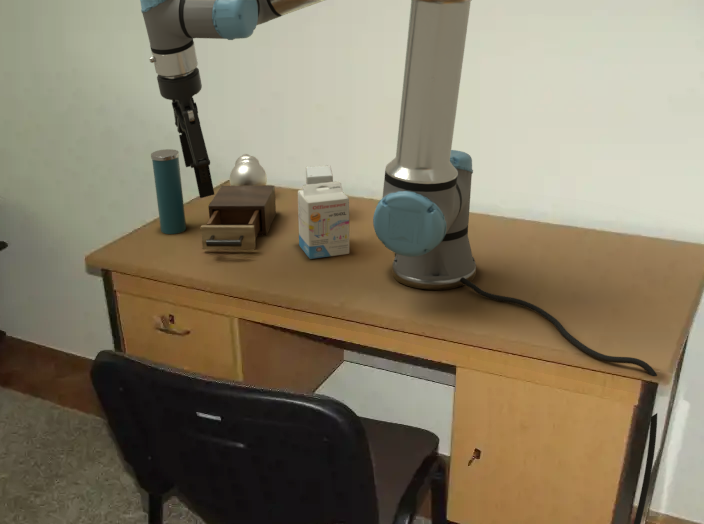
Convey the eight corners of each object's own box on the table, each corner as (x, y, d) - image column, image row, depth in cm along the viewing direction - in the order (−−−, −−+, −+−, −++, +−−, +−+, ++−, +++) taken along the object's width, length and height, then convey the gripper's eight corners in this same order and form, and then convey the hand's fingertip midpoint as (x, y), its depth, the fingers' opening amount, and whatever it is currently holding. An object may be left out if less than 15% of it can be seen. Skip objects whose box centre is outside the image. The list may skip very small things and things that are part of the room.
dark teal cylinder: (192, 229, 193) (184, 152, 185) (169, 236, 190) (160, 158, 182) (177, 222, 198) (168, 147, 189) (155, 229, 195) (145, 153, 186)
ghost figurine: (273, 191, 213) (271, 150, 208) (261, 204, 205) (258, 162, 200) (238, 190, 215) (235, 149, 210) (225, 202, 208) (221, 160, 203)
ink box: (308, 260, 174) (306, 194, 167) (298, 245, 181) (296, 181, 175) (350, 254, 175) (350, 188, 169) (338, 239, 183) (337, 176, 176)
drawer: (251, 257, 175) (249, 234, 172) (197, 256, 177) (195, 234, 174) (264, 227, 189) (263, 206, 186) (215, 227, 191) (213, 206, 188)
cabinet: (266, 235, 187) (264, 205, 184) (210, 235, 189) (208, 205, 186) (276, 213, 199) (274, 185, 195) (223, 213, 201) (221, 185, 198)
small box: (333, 222, 191) (333, 175, 186) (308, 224, 192) (306, 176, 186) (331, 210, 198) (331, 164, 193) (307, 211, 199) (305, 165, 193)
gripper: (145, 52, 163) (168, 157, 176) (169, 101, 144) (193, 214, 158) (184, 43, 163) (204, 148, 177) (213, 90, 145) (233, 204, 158)
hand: (199, 180), depth 167 cm, fingers open, 13 cm apart
